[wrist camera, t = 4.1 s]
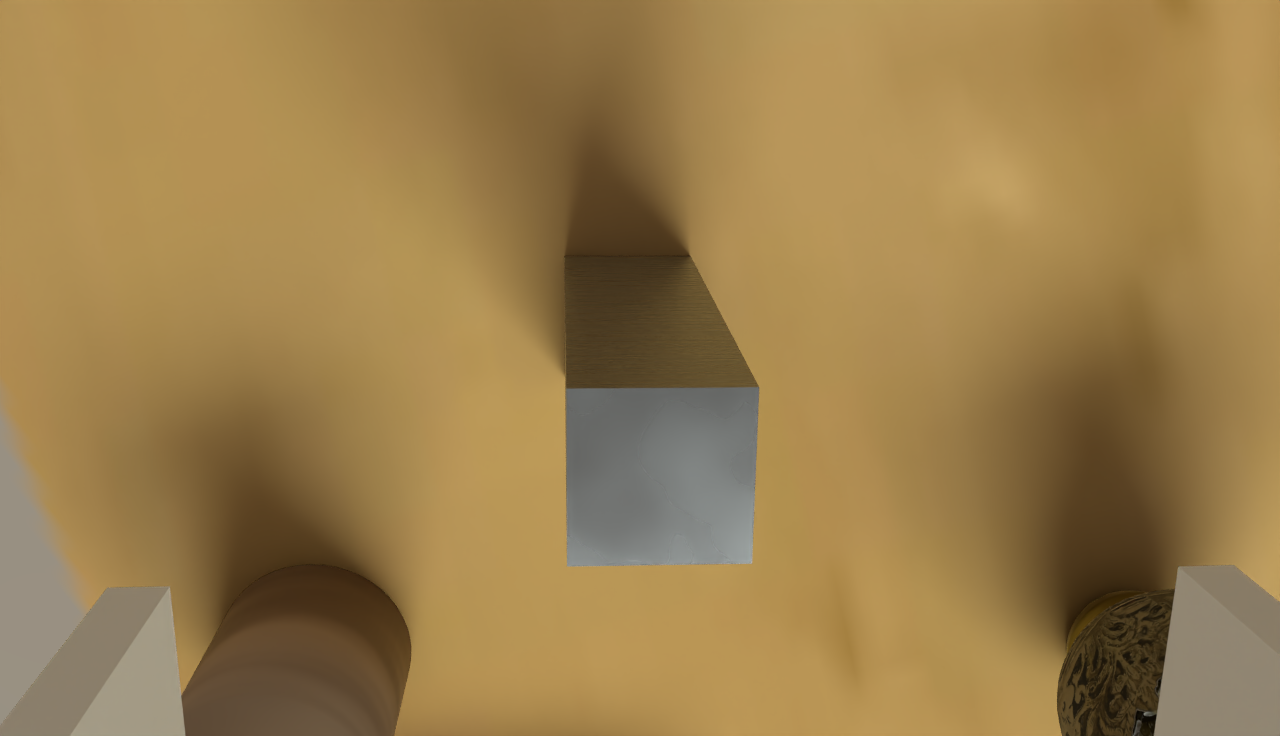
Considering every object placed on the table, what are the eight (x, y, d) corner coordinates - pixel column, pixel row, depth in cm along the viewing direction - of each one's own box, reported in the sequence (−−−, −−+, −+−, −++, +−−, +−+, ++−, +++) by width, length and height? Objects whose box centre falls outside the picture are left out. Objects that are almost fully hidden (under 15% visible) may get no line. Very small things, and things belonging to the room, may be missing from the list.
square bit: (564, 256, 33) (566, 388, 21) (690, 256, 33) (758, 387, 22) (565, 377, 34) (567, 566, 22) (687, 376, 34) (751, 563, 23)
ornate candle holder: (1181, 478, 36) (1350, 606, 28) (1271, 669, 38) (1451, 836, 30) (956, 600, 37) (1060, 757, 29) (1055, 780, 39) (1178, 972, 31)
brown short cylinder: (212, 565, 35) (128, 698, 28) (407, 562, 35) (371, 693, 28) (227, 735, 36) (152, 899, 30) (414, 730, 37) (382, 892, 30)
